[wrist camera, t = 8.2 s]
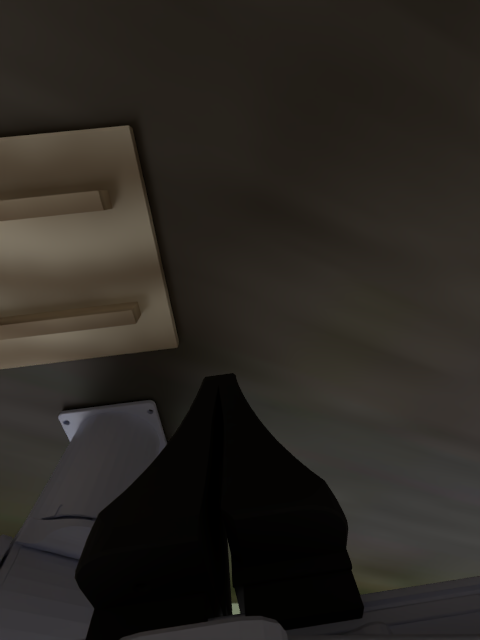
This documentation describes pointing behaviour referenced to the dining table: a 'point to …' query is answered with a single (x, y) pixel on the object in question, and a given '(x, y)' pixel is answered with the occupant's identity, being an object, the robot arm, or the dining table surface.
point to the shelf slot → (78, 250)
